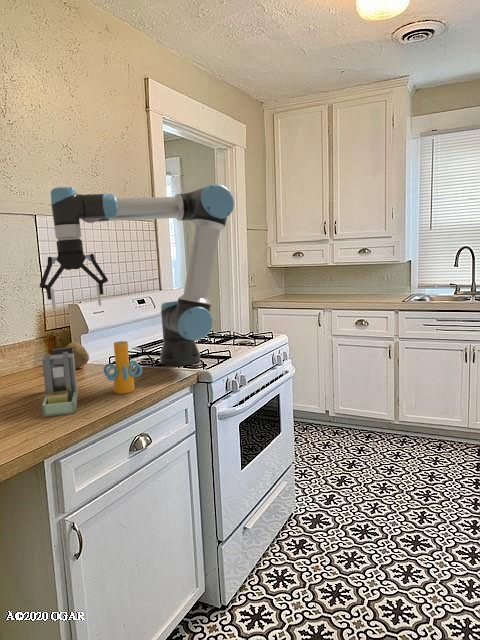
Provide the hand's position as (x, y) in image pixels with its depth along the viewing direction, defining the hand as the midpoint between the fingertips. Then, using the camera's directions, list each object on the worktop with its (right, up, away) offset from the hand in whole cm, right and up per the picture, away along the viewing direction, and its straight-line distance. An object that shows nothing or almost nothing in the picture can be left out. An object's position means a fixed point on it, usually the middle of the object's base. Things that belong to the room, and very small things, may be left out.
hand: (77, 307), depth 155 cm
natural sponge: (-10, -22, +29) cm, 38 cm away
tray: (+3, -28, -22) cm, 35 cm away
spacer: (+2, -28, -22) cm, 35 cm away
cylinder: (+16, -26, -7) cm, 31 cm away
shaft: (-2, -20, -9) cm, 22 cm away
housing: (+1, -27, -15) cm, 31 cm away
